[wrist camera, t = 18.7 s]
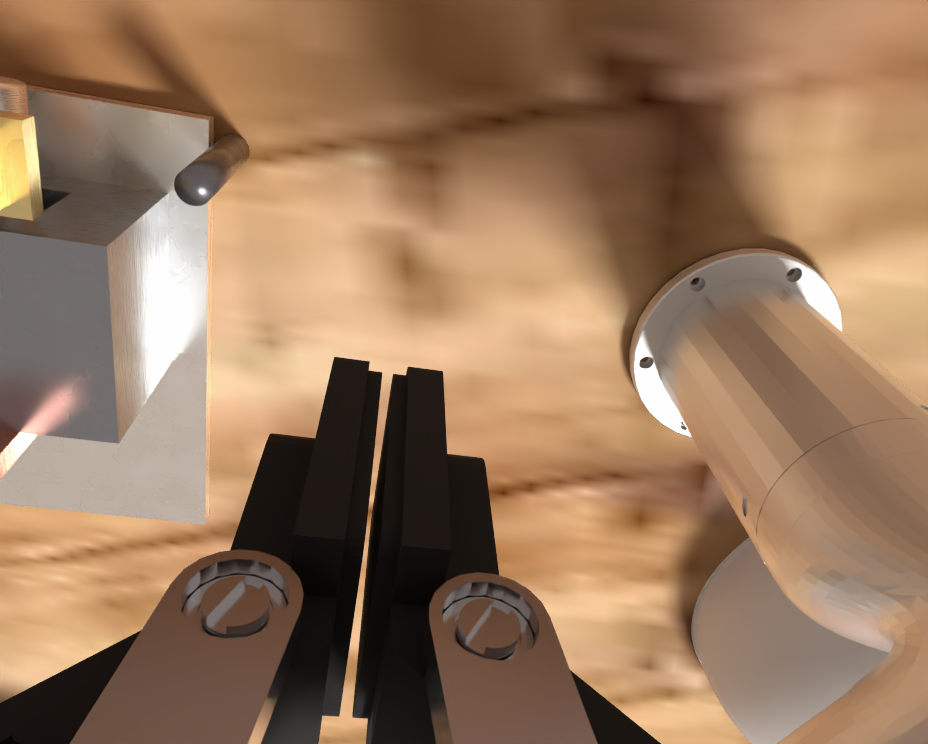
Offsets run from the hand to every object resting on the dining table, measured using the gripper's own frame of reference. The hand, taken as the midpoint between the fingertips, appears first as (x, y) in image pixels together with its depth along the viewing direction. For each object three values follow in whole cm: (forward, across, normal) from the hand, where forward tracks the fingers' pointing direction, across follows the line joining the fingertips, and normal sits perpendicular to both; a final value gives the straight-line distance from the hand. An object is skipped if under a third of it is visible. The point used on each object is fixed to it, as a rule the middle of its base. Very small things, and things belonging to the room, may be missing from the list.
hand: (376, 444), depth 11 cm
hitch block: (+29, +17, +15) cm, 37 cm away
